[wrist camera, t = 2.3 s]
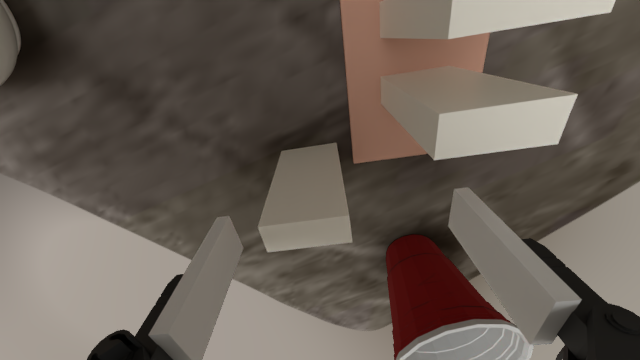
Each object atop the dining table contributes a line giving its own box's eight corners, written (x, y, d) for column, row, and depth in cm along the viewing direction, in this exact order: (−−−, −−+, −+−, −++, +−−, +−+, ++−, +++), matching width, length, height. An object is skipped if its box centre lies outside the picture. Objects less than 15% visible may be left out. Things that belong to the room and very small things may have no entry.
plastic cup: (476, 246, 28) (568, 367, 18) (404, 289, 32) (445, 408, 22) (420, 198, 24) (495, 316, 14) (347, 254, 28) (363, 376, 18)
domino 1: (281, 150, 21) (257, 227, 13) (336, 142, 21) (349, 215, 12) (286, 169, 22) (267, 252, 14) (339, 162, 22) (352, 242, 14)
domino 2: (379, 2, 15) (457, -42, 7) (458, -12, 15) (646, -77, 6) (379, 37, 16) (448, 39, 8) (454, 25, 16) (610, 12, 7)
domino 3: (380, 76, 18) (439, 113, 9) (449, 65, 17) (577, 94, 9) (380, 103, 19) (434, 160, 10) (445, 94, 18) (557, 143, 10)
